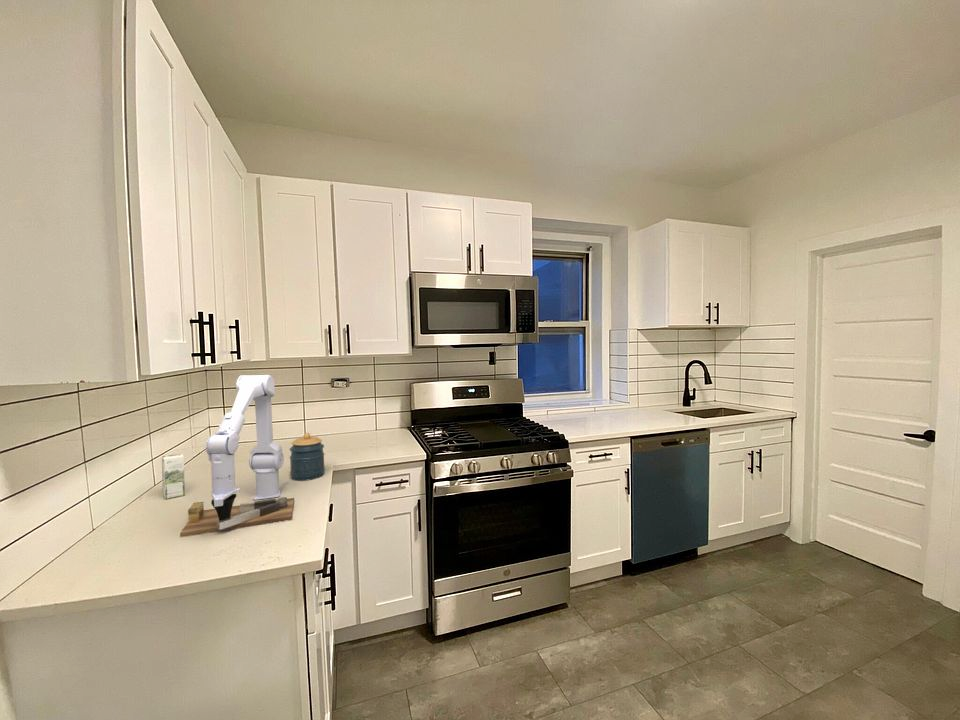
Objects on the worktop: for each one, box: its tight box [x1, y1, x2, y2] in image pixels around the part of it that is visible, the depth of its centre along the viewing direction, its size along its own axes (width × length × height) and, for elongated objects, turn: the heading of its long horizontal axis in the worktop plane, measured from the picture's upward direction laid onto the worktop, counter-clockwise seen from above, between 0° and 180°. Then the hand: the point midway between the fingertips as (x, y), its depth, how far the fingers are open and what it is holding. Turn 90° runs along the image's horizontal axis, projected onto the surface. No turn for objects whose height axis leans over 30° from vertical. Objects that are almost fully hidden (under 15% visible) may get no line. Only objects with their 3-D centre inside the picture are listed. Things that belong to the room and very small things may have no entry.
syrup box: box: [161, 452, 186, 500], centre depth 143 cm, size 6×6×14 cm
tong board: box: [179, 496, 295, 538], centre depth 124 cm, size 16×28×4 cm, turn 112°
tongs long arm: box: [217, 502, 280, 530], centre depth 120 cm, size 2×17×2 cm, turn 144°
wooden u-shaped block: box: [187, 501, 205, 523], centre depth 120 cm, size 6×2×4 cm, turn 22°
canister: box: [289, 432, 326, 481], centre depth 164 cm, size 13×13×18 cm
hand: (224, 522), depth 116 cm, fingers closed
